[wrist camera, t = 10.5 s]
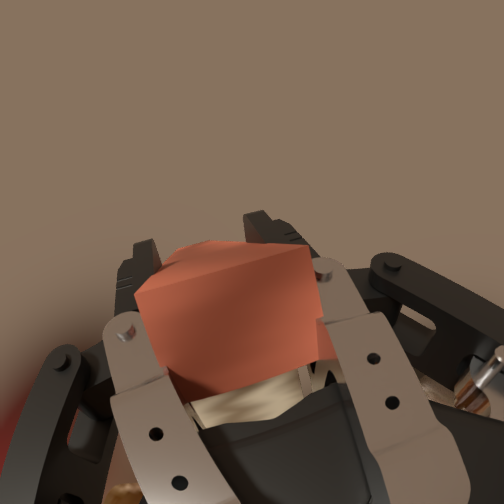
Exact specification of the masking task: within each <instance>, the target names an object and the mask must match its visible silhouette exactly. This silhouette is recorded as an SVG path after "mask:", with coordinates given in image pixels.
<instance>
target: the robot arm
mask: <svg viewBox="0 0 504 504" xmlns="http://www.w3.org/2000/svg"><path fill="white" fill-rule="evenodd" d="M243 222H244V230H245V237H246V243H260V244H267V243H276V244H296V245H309V244H308V243H307V242H306V241H305V239H304V238H303V239H302V236H301V235H300V234H299V233H297V231H296V230H295V229H294V228H293V227H292V226H291V225H290V224H289V223H287V222H285V221H282V220H280V219H278V220H274V221H272V220H271V218H270V217H269V216H268V215H267V214H266V213H265V212H264V210H260V211H256V212H252V213H248V214H244V215H243ZM309 250H310V254H311V259H312V263H313V268H314V272H315V277H316V282H317V286H318V291H319V296H320V301H321V306H322V311H323V316H322V317H320V318H317V319H316V330H317V343H318V356H319V360H317V361H314V362H312V363H309V364H307V367H308V371H309V375H310V379H311V385H312V393H311V394H309V395H308V396H307V397H305V398H304V399H302V400H301V401H300V402H298V403H297V404H295V405H294V406H292V407H291V408H289V409H288V410H287V411H285V412H284V413H282V414H281V415H279V416H278V417H276V418H273V419H269V420H260V421H249V422H236V423H224V424H221V425H217V426H213V427H210V428H206V427H205V426H204V424H203V423H202V421H201V419H200V418H199V416H198V414H197V412H196V410H195V409H194V407H193V405H192V403H191V402H189V403H187V402H186V400H185V398H184V396H183V395H182V393H181V391H180V390H179V388H178V386H177V384H176V383H175V381H174V379H173V377H172V375H171V374H170V372H169V370H168V368H167V366H164V367H160V366H159V363H158V361H157V358H156V356H155V353H154V351H153V348H152V345H151V343H150V340H149V337H148V335H147V332H146V329H145V326H144V323H143V321H142V318H141V315H140V312H139V309H138V306H137V303H136V300H135V296H134V294H135V292H136V291H137V290H138V289H139V288H140V287H141V286H142V285H143V284H144V283H145V282H146V281H147V280H148V279H149V278H150V277H151V276H152V275H154V274H155V273H156V272H157V271H158V270H159V269H160V268H161V267H162V263H161V261H160V258H159V254H158V251H157V248H156V246H155V243H154V240H153V239H149V240H145V241H142V242H138V243H135V244H134V245H133V258H131V259H128V260H124V261H123V263H122V264H121V266H120V268H119V269H118V273H117V284H116V289H117V290H116V299H115V314H114V318H112V320H110V321H109V322H108V323H107V325H106V326H105V329H104V331H103V340H102V341H101V342H99V343H98V344H96V345H94V346H92V347H91V348H89V349H87V350H85V351H83V352H80V351H79V350H78V348H77V347H75V346H73V345H69V344H66V345H62V346H59V347H57V348H55V349H54V350H53V351H52V352H51V353H50V354H49V355H48V356H47V358H46V360H45V362H44V364H43V366H42V368H41V370H40V372H39V374H38V376H37V378H36V380H35V383H34V385H33V387H32V389H31V392H30V394H29V396H28V399H27V401H26V404H25V406H24V408H23V411H22V413H21V416H20V419H19V421H18V423H17V426H16V429H15V432H14V434H13V437H12V440H11V444H10V446H9V450H8V453H7V456H6V459H5V463H4V466H3V470H2V473H1V477H0V504H101V503H102V498H103V494H104V489H105V484H106V480H107V475H108V471H109V467H110V463H111V459H112V455H113V451H114V447H115V443H116V440H117V436H118V432H119V434H120V437H121V440H122V442H123V445H124V448H125V451H126V454H127V456H128V459H129V462H130V464H131V466H132V469H133V471H134V474H135V476H136V479H137V481H138V483H139V486H140V488H141V490H142V492H143V494H144V495H143V497H142V499H141V501H140V503H139V504H504V309H502V308H500V307H499V306H497V305H495V304H493V303H492V302H490V301H488V300H486V299H485V298H483V297H481V296H479V295H477V294H475V293H474V292H472V291H470V290H468V289H466V288H464V287H462V286H461V285H459V284H457V283H455V282H453V281H451V280H449V279H447V278H445V277H443V276H441V275H439V274H438V273H435V272H434V271H431V270H430V269H427V268H426V267H424V266H421V265H420V264H417V263H415V262H413V261H411V260H409V259H407V258H405V257H403V256H401V255H398V254H395V253H388V252H387V253H380V254H377V255H375V256H374V257H373V258H372V260H371V264H370V268H363V269H351V270H350V269H348V270H347V269H345V267H344V266H343V265H342V264H341V263H340V262H338V261H336V260H334V259H331V258H325V257H320V256H319V255H318V254H317V253H316V251H315V250H314V249H313V248H312V247H311V246H310V245H309ZM403 304H404V305H405V306H407V307H409V308H411V309H413V310H414V311H416V312H418V313H420V314H421V315H423V316H425V317H427V318H429V319H430V320H432V321H433V323H434V324H435V326H436V330H431V329H429V328H427V327H425V326H423V325H421V324H420V323H418V322H416V321H414V320H413V319H411V318H409V317H407V316H406V315H404V314H402V313H400V310H401V308H402V305H403ZM412 367H414V368H416V369H417V370H419V371H420V372H422V373H424V374H425V375H427V376H428V377H430V378H432V379H433V380H435V381H437V382H438V383H440V384H441V385H443V386H445V387H446V388H448V389H450V390H451V391H453V392H454V393H455V398H454V406H455V407H456V408H453V407H450V406H447V405H443V404H440V403H437V402H434V401H431V400H428V399H427V397H426V395H425V393H424V390H423V388H422V386H421V384H420V382H419V380H418V378H417V376H416V374H415V372H414V370H413V368H412ZM77 408H78V409H79V410H80V411H79V413H78V416H77V419H76V422H75V425H74V428H73V431H72V434H71V437H70V441H69V444H68V445H67V437H68V433H69V430H70V427H71V424H72V421H73V419H74V415H75V413H76V410H77ZM464 408H465V409H466V410H467V411H468V412H467V411H464V410H462V409H464Z"/></svg>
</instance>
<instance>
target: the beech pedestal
mask: <svg viewBox="0 0 504 504" xmlns="http://www.w3.org/2000/svg"><path fill="white" fill-rule="evenodd" d="M302 399H304V397H303V392H302V388H301V383H300V379H299V374H298V370H297V369H294V370H291V371H289V372H286V373H283V374H281V375H278V376H275V377H272V378H269V379H267V380H264V381H261V382H258V383H255V384H252V385H249V386H246V387H242V388H239V389H236V390H233V391H229V392H226V393H223V394H219V395H216V396H212V397H208V398H205V399H201V400H197V401H193V402H191V403H192V405H193V407H194V409H195V410H196V412H197V414H198V416H199V418H200V419H201V421H202V423H203V424H204V426H205V427H206V428H210V427H213V426H217V425H221V424H224V423H236V422H249V421H260V420H269V419H273V418H276V417H278V416H279V415H281V414H282V413H284V412H285V411H287V410H288V409H289V408H291V407H292V406H294V405H295V404H297V403H298V402H300V401H301V400H302Z"/></svg>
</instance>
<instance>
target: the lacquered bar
mask: <svg viewBox="0 0 504 504" xmlns="http://www.w3.org/2000/svg"><path fill="white" fill-rule="evenodd" d="M134 296H135V300H136V303H137V306H138V309H139V312H140V315H141V318H142V321H143V323H144V326H145V329H146V332H147V335H148V337H149V340H150V343H151V345H152V348H153V351H154V353H155V356H156V358H157V361H158V363H159V366H160V367H164V366H167V368H168V370H169V372H170V374H171V375H172V377H173V379H174V381H175V383H176V384H177V386H178V388H179V390H180V391H181V393H182V395H183V396H184V398H185V400H186V402H187V403H189V402H193V401H197V400H201V399H205V398H208V397H212V396H216V395H219V394H223V393H226V392H229V391H233V390H236V389H239V388H242V387H246V386H249V385H252V384H255V383H258V382H261V381H264V380H267V379H269V378H272V377H275V376H278V375H281V374H283V373H286V372H289V371H291V370H294V369H297V368H299V367H302V366H304V365H307V364H309V363H312V362H314V361H317V360H319V356H318V343H317V330H316V319H317V318H320V317H322V316H323V311H322V306H321V301H320V296H319V291H318V286H317V282H316V277H315V272H314V268H313V263H312V259H311V254H310V250H309V245H296V244H276V243H267V244H260V243H246V242H233V241H210V240H209V241H205V242H201V243H198V244H193V245H190V246H186V247H182V248H179V249H177V250H176V251H175V252H174V253H173V254H172V255H171V256H170V257H169V258H168V259H167V260H166V261H165V262H164V263H163V264H162V267H161V268H160V269H159V270H158V271H157V272H156V273H155V274H154V275H152V276H151V277H150V278H149V279H148V280H147V281H146V282H145V283H144V284H143V285H142V286H141V287H140V288H139V289H138V290H137V291H136V292H135V294H134Z"/></svg>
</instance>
